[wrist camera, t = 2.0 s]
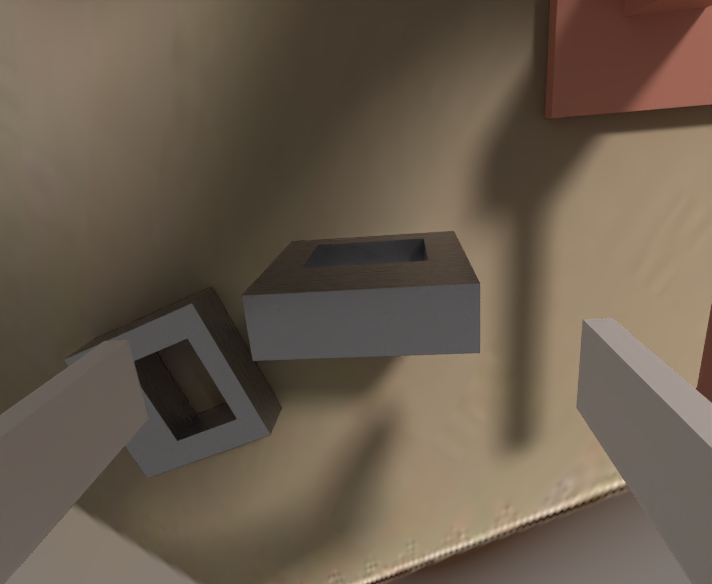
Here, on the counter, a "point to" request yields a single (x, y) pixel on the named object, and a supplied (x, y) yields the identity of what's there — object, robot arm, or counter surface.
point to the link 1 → (167, 402)
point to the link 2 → (365, 299)
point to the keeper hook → (631, 68)
